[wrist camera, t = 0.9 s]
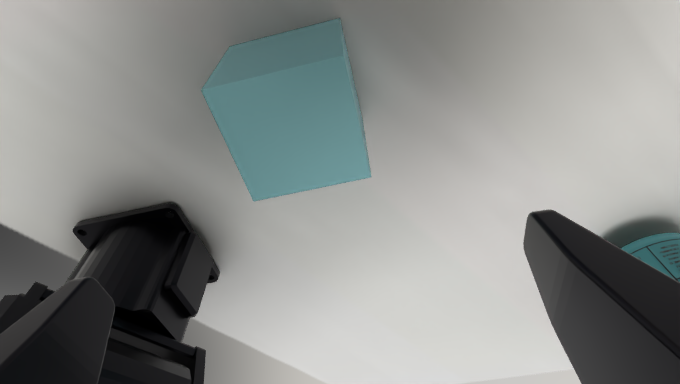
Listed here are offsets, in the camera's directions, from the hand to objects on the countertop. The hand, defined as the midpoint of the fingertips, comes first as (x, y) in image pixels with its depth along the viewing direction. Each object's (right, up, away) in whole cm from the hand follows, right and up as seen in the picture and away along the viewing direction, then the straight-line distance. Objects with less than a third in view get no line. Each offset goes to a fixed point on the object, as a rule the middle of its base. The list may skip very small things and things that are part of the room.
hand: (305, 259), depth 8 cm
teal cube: (-1, +6, +11) cm, 12 cm away
